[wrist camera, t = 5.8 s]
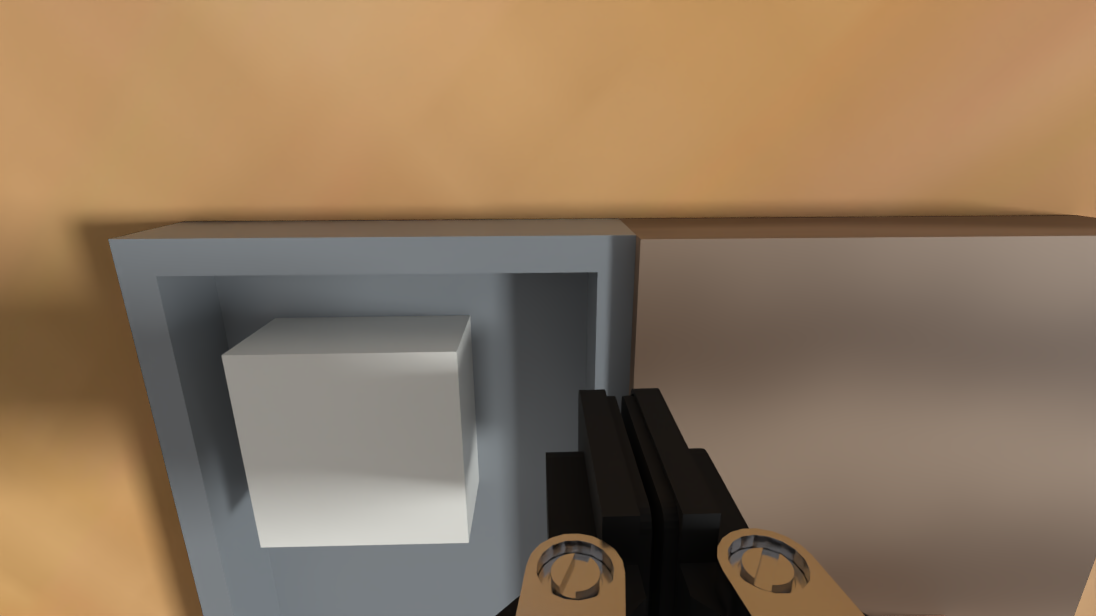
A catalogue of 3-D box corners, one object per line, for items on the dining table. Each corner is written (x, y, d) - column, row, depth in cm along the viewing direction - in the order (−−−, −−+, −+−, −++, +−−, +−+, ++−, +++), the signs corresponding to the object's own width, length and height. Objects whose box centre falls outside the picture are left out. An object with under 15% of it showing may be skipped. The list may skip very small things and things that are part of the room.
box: (183, 221, 13) (108, 239, 11) (618, 218, 14) (636, 234, 11) (285, 711, 19) (249, 795, 16) (601, 703, 19) (610, 785, 16)
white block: (456, 351, 11) (470, 315, 14) (221, 355, 11) (275, 318, 14) (468, 543, 13) (478, 480, 15) (260, 547, 13) (303, 484, 15)
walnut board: (618, 218, 14) (640, 239, 11) (1076, 215, 14) (1216, 235, 11) (601, 703, 19) (613, 804, 16) (937, 695, 19) (1008, 793, 16)
